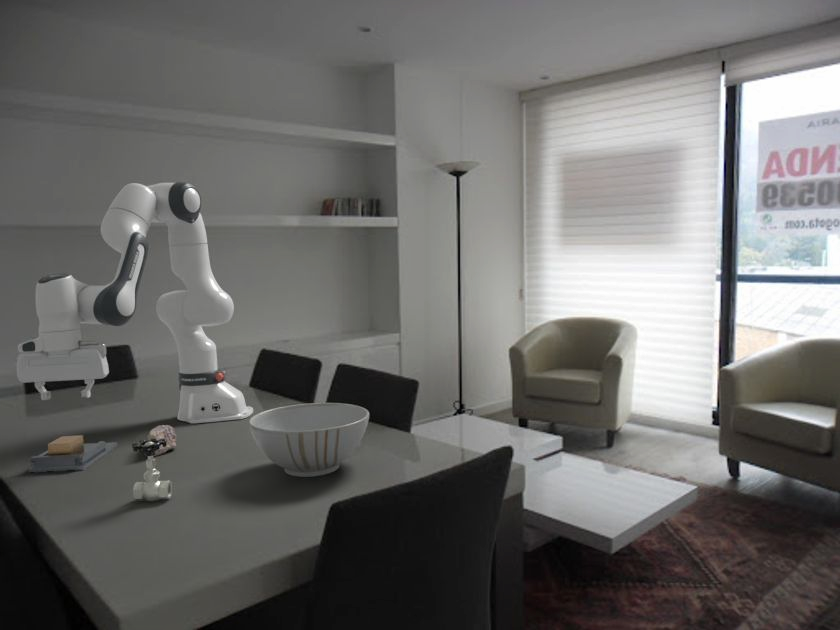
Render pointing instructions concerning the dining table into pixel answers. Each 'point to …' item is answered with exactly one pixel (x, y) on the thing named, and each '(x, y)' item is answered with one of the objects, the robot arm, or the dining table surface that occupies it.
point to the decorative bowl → (309, 436)
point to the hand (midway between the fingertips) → (66, 398)
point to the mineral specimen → (165, 433)
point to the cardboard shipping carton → (66, 445)
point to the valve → (151, 473)
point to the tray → (71, 458)
